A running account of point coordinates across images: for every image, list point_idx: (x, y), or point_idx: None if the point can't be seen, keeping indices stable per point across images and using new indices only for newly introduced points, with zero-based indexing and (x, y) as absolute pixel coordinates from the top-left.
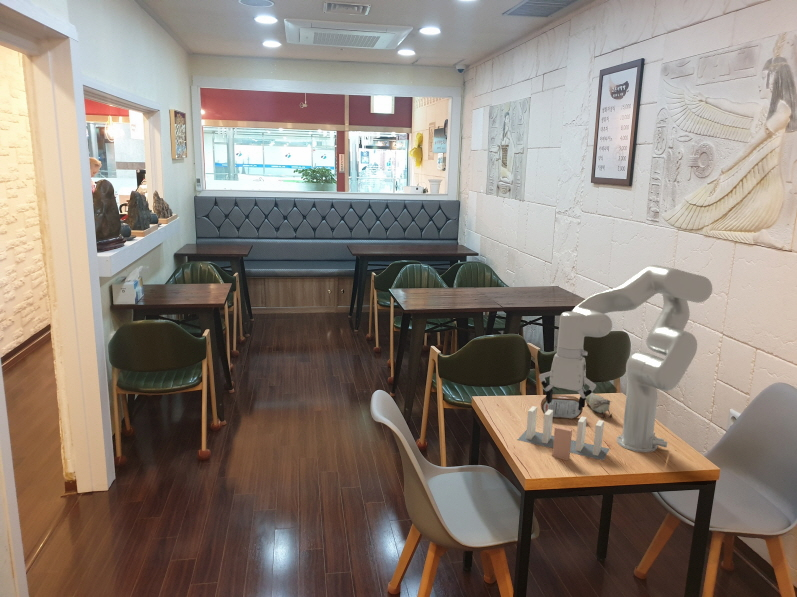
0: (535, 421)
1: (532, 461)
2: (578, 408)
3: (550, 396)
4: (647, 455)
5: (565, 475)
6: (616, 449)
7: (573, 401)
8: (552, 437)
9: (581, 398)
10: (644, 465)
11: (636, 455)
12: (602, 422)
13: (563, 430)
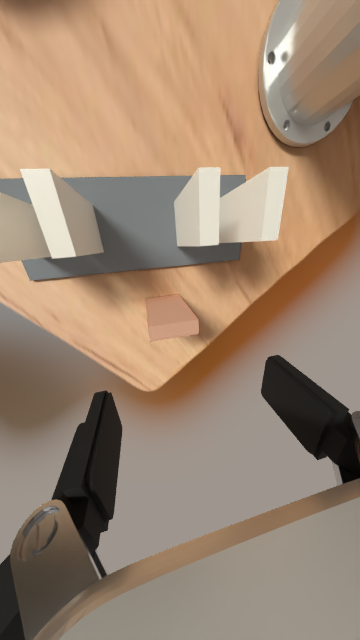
0: (9, 205)
1: (125, 348)
2: (265, 398)
3: (114, 464)
4: (324, 150)
5: (192, 353)
6: (258, 159)
7: None
8: (92, 195)
9: (324, 456)
10: (310, 221)
11: (300, 170)
12: (282, 192)
13: (176, 335)
